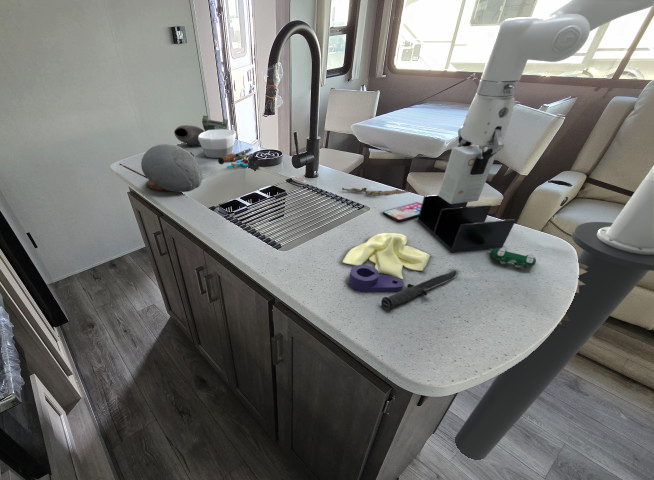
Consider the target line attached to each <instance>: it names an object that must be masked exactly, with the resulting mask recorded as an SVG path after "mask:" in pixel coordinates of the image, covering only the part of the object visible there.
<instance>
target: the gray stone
mask: <svg viewBox="0 0 654 480" xmlns="http://www.w3.org/2000/svg"><path fill="white" fill-rule="evenodd" d="M140 165H141V166H140V167H141V170H142V173H143V175H144V176H146V177H147V178H148V179H147V178H146V179H147V180H148V181H149V180H150V181H151V182H153V183H154V184H156V185H158V186H160V187H162V188H164V189H167V190H170V191H171V192H176V193H188V192H192V191H194V190H195V189H198V188H199V187H200V186H201V184H202V182H203V175H202V170H201V168H200V166H199V164H198V161H197V159H196V158H195V156H194V157H193V156H192V155H191V154H190V152H189V151H188V150H186V149H184V148H183V147H181V146H179V145H175V144H172V143H159V144H156V145H153V146H152V147H150V148H149V149H148V150H146V152H145V153H144V154H143V156H142V158H141V164H140ZM170 191H169V192H170Z"/></svg>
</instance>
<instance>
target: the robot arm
mask: <svg viewBox="0 0 654 480" xmlns="http://www.w3.org/2000/svg"><path fill="white" fill-rule="evenodd" d="M652 7H654V0H571V1H569V2H567V3H565V4H564V5H563V6H561V7H559V8H558V9H556V10H555V11H553V12H552V13H550V14H549V15H547V16H546V17H544V18H538V17H533V16H532V17H530V16H529V17H528V16H527V17H513V18H512V17H511V18H507V19H504V20H502V21H501V22H500V23H499V24H498V26H497V28H496V30H495V33H494V37H493V40H492V43H491V45H490V50H489V52H488V55H487V58H486V62H485V64H484V68H483V71H482V73H481V74H482V75H481V77H480V79H479V83H478V86H477V89H476V91H475V92H476V93H475V95H474V97H473V99H472V101H471V104H470V106H469V108H468V111H467V112H466V115H465V117H464V121H463V123H462V126H461V127H460V128H458V130H457V136H458V139H457V140H458V145H457V147H463V146H472V145H478V146H479V154H478V158H476V159H475V162H474V164H473V167H472V170H471V173H470V174H471V175H479V174H483V173H484V171H485V168H486V166H487V163H488V160H489V158H492V156H493V155H494V154H496V153H497V154H498V152H499V151H501V150H502V149H503V148H504V139H505V137H506V133H507V130H508V127H509V124H510V121H511V118H512V114H513V112H514V111H513V110H514V106H515V99H516V98H515V97H514V96H515V93H516V92H517V90H518V86H519V83H520V80H521V78H522V76H523V72H524V70H525V69H526V65H527V63H528V61H539V62H543V63H544V62H545V63H557V62H561V61H564V60H566V59H568V58H570V57H572V56H574V55H575V54H576V53H578V52H579V51H580V50H581V49H582V47H584V45H585V44H586V42H587V41H588V39H589V37H590V34H591V32H592V31H594V30H596V29H598V28H599V27H601V26H603V25H605V24H607V23H610V22H612V21H614V20H616V19H620V18H621V17H624V16H628V15H630V14H634V13H637V12H639V11H644V10H646V9H648V8H652ZM486 147H488V148H487V151H485V152H484V149H485V148H486ZM497 154H496V155H497ZM612 223H613V224H612V225H611V227H604V228H601V229H600V230H599V231H598V232H597V237H598V238H599V239H600V240H601V241H602V242H604V243H605V244H607V245H609V246H611V247H614V248H616V249H619V250H623V251H626V252H630V253H636V254H643V255H654V165H653V166H652V167H651V168H650V170H649V172H648V173H647V174H646V176H645V177H644V179H643V180H642V181H641V182H640V183H639V185H638V187H637V188H636V190H635V191H634V193H633V194H632V195H631V197H630V198H629V200H628V201H627V202H626V204H625V205H624V206H623V208H622V209H621V211H620V213H619V214H618V215H617V216H616V218H615V220H614V221H613V222H612Z"/></svg>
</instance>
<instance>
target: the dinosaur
mask: <svg viewBox="0 0 654 480" xmlns="http://www.w3.org/2000/svg"><path fill="white" fill-rule="evenodd" d="M248 149H249V150H248V151H246V152H245V158H250V157H252V156H253V155H254V154H255V152H253V153H249V154H247V153H248V152H249V151H251V150H252V148H249V147H248ZM251 155H252V156H251ZM249 156H250V157H249ZM243 158H244V153H243V154H240V155H239V156H238V157H235V158H234V159H232V160H230V161H229V163H232V162H237V161H239V160H243Z"/></svg>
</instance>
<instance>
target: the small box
mask: <svg viewBox="0 0 654 480" xmlns="http://www.w3.org/2000/svg"><path fill="white" fill-rule="evenodd" d="M487 148H488V147H486V148H485V149H484V152H485V151H487ZM478 154H479V146H478V145H476V144H472V145H471V146H463V147H458V146H455V147H452V149H451V152H450V155H449V158H448V162H447V165H446V167H445V168H446V169H445V172H444V175H443V178H442V182H441V185H440V187H439V191H438V194H437V195H439V196H440V197H441V198H443V199H444V200H446V201H447V202H449V203H450V204H456V203H464V202H468V203H470V202H471V203H472V202H478V201H479V200H480V197H481V194H482V192H483V189H484V187H485V184H486V181H487V179H488V176H489V173H490V172H491V170H492V169H491V168H492V167H493V163H494V161H495V159H496V155H498V152H497V153H496V154H494V155H493V156H492V158H489V160H488V163H487V166H486V168H485V171H484V173H483V174H479V175H471V174H470V173H471V170H472V167H473V164H474V162H475V159H476V158H478Z"/></svg>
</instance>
